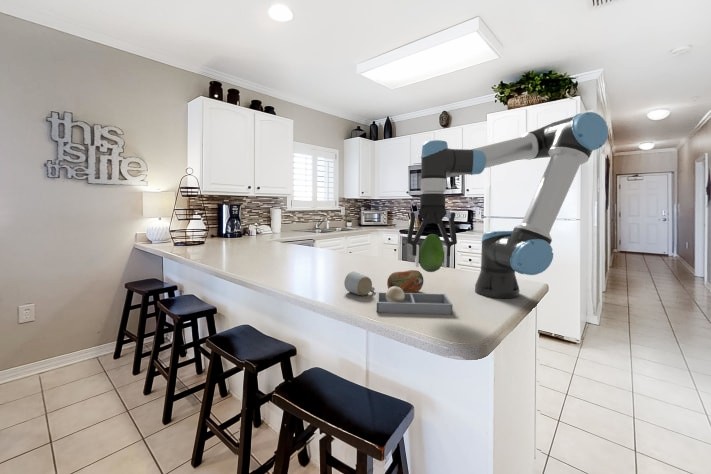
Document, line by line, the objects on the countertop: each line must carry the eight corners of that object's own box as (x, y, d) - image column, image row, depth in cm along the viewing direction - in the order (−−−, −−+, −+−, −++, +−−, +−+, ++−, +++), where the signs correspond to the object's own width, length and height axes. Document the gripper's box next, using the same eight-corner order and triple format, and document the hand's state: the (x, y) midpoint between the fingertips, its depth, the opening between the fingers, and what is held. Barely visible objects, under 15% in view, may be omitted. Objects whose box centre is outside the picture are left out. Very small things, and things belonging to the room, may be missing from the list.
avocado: (448, 272, 102) (450, 234, 101) (430, 275, 98) (431, 235, 96) (429, 268, 109) (431, 232, 107) (412, 270, 104) (413, 233, 103)
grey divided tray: (444, 302, 110) (444, 294, 109) (452, 314, 98) (452, 304, 98) (376, 300, 111) (377, 292, 111) (376, 312, 100) (376, 302, 99)
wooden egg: (403, 302, 108) (404, 284, 107) (405, 308, 102) (405, 289, 101) (385, 301, 108) (385, 284, 108) (385, 307, 102) (385, 288, 102)
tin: (390, 296, 117) (390, 273, 116) (385, 294, 120) (386, 271, 119) (423, 291, 124) (424, 269, 123) (418, 289, 126) (419, 268, 126)
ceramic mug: (358, 298, 115) (358, 276, 114) (343, 293, 121) (344, 272, 120) (379, 293, 122) (380, 272, 121) (364, 288, 128) (365, 269, 127)
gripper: (464, 193, 104) (461, 264, 106) (398, 193, 105) (396, 263, 107) (470, 193, 96) (467, 269, 98) (399, 192, 98) (398, 267, 100)
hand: (430, 266), depth 103 cm, fingers closed on avocado, 8 cm apart
